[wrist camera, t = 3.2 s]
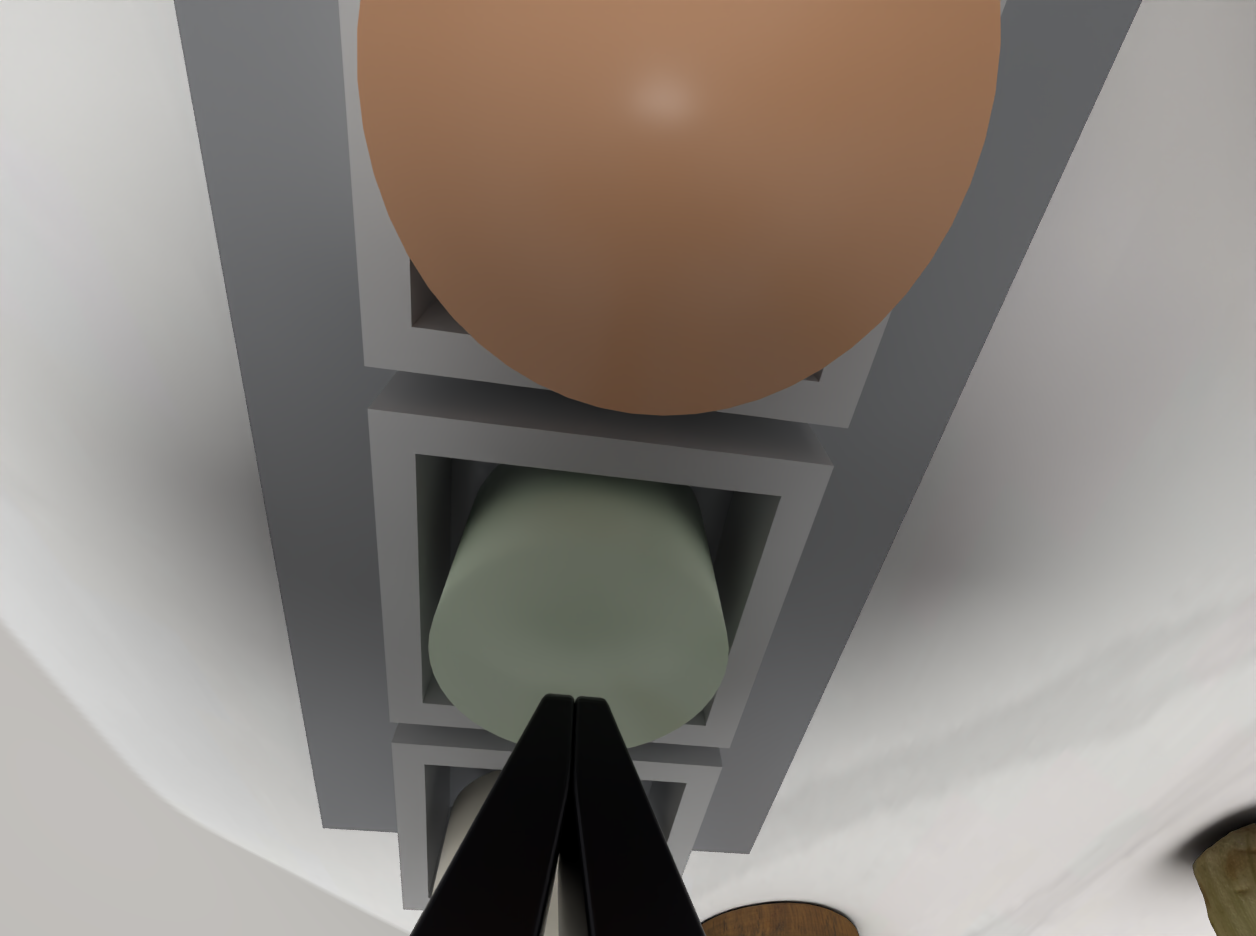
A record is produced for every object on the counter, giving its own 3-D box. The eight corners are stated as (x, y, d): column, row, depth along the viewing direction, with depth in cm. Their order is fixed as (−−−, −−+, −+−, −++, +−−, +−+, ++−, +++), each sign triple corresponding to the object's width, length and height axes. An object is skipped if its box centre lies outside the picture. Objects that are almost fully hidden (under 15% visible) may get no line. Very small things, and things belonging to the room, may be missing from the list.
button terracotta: (914, -98, 6) (1140, -243, 3) (788, 335, 8) (867, 442, 6) (456, -195, 6) (324, -442, 3) (453, 288, 8) (375, 381, 5)
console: (1165, -166, 8) (1466, -309, 5) (743, 819, 19) (765, 942, 16) (155, -401, 7) (-164, -750, 4) (336, 792, 18) (286, 919, 15)
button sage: (727, 450, 11) (762, 561, 8) (679, 631, 13) (695, 762, 10) (472, 419, 10) (425, 525, 8) (467, 611, 13) (430, 743, 10)
